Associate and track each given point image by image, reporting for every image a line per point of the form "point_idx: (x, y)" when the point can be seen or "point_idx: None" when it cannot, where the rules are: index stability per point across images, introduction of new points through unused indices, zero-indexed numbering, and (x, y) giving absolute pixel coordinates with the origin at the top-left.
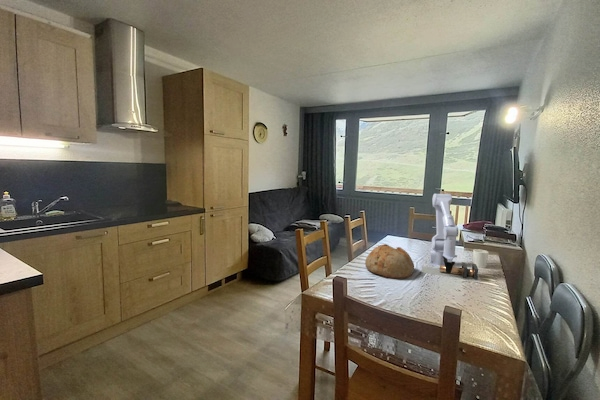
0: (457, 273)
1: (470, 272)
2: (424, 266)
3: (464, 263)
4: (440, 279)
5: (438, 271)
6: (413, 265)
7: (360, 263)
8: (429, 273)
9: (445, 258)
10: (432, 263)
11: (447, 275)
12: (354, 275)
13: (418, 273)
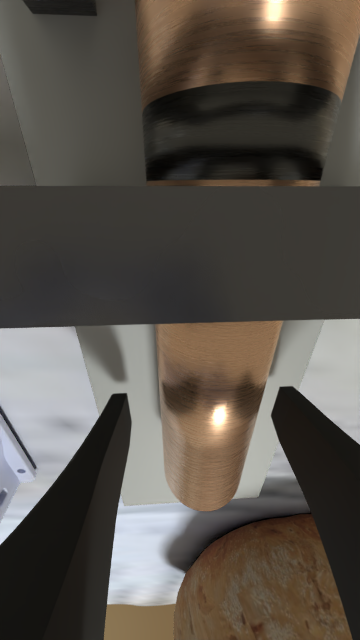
0: None
1: (353, 55)
2: (122, 497)
3: (72, 251)
4: (351, 412)
5: None
6: (338, 600)
7: None
8: (265, 471)
9: (96, 619)
10: (9, 478)
11: (277, 383)
12: None
13: (260, 496)
